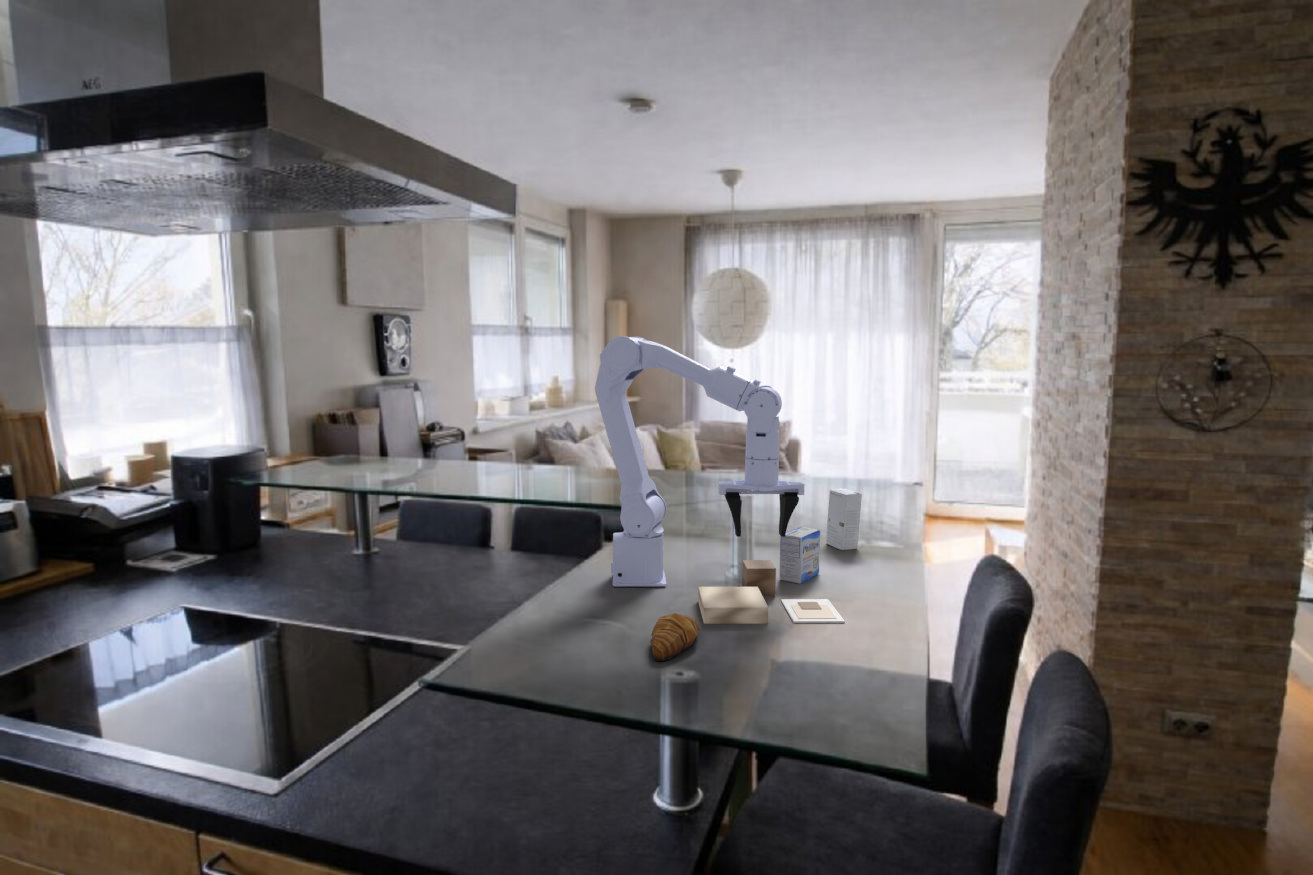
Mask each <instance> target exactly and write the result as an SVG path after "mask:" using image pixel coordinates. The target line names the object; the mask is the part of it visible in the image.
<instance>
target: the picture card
mask: <svg viewBox="0 0 1313 875" xmlns="http://www.w3.org/2000/svg"><path fill="white" fill-rule="evenodd" d="M780 602H781V604H782V605H783V607H784V609H785V611H786V612H787V614H788V615H789V617H790V619H791V621H792V622H793V624H845V623H846V621H845V620H844V618H843V617H842V615H841V614H840V613H839V611H837V609H836V608H835V606H834V605H833V604H832V603H831V601H830V600H829V598H823V599H821V598H819V599H817V598H813V599H812V598H809V599H808V598H801V599H799V598H795V599H794V598H790V599H789V598H783V599H782V598H781V599H780Z"/></svg>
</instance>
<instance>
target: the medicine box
mask: <svg viewBox="0 0 1313 875" xmlns="http://www.w3.org/2000/svg"><path fill="white" fill-rule="evenodd" d="M779 538H780V539H779V580H780V581H784V582H789V583H793V584H798V585H801V584H804V583H805V582H807V581H809V580H811V579H812V578H814V577H815V576H817V575H819V574H820V556H821V555H820V554H821V553H820V552H821V551H820V550H821V549H820V548H821V530H820V529H817V528H812V527H806V526H805V527H804V526H802V527H801V526H799V527H798V528H795V529H791V530H790V531H788V532H787V531H786V534H785V537H781V536H780V535H779Z"/></svg>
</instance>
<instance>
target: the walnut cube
mask: <svg viewBox="0 0 1313 875" xmlns="http://www.w3.org/2000/svg"><path fill="white" fill-rule="evenodd" d="M741 569H742V571H741V572H742V574H741V575H742V576H741V578H742V579H741V587H758V588H759V590H760V592H761V594H762V596H763V597H776V588H777V587H776V584H777V583H776V582H777V578H776V577H777V568H776V566H775V564H774V563H773V561H772V560H771V559H742V567H741Z"/></svg>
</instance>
